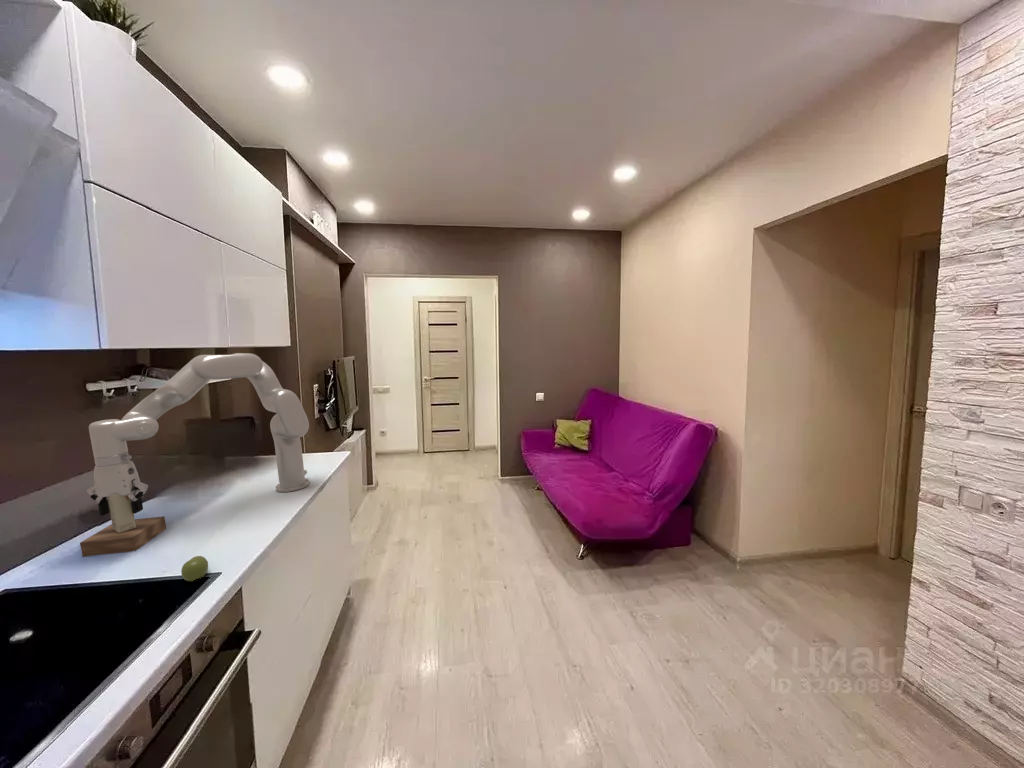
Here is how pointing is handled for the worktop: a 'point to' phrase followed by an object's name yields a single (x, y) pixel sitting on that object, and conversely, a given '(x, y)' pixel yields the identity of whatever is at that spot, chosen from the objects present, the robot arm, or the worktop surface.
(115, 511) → the skincare box
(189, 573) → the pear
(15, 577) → the worktop surface
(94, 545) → the walnut block
